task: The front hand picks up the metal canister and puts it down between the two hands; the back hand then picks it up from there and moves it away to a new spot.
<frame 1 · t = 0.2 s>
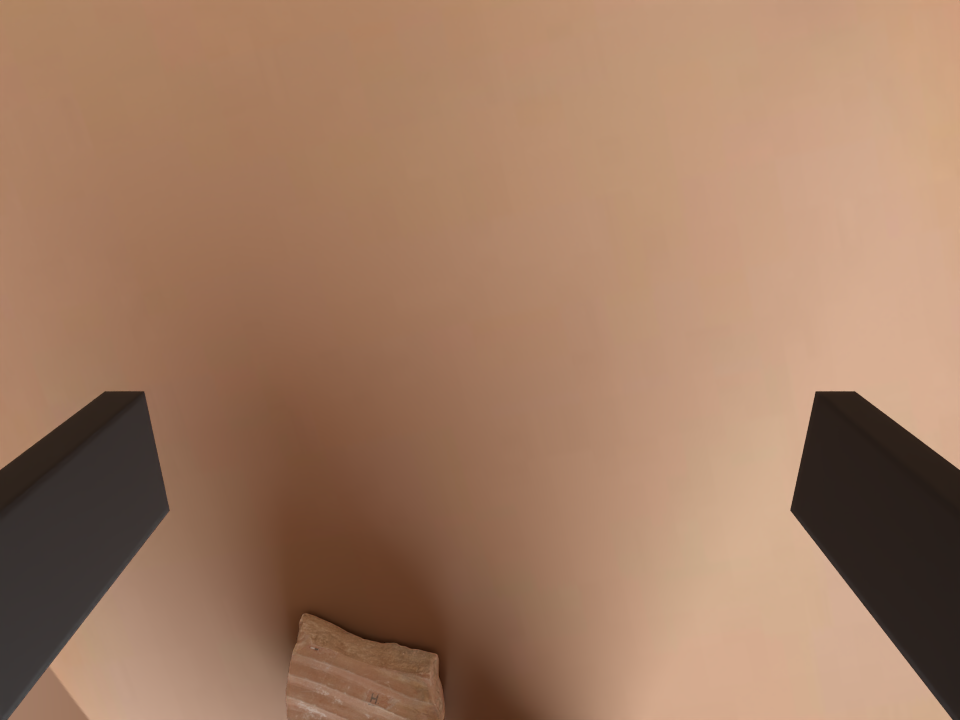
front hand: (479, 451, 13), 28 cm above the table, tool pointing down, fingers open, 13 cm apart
beige ridged slab: (364, 667, 52), on the table
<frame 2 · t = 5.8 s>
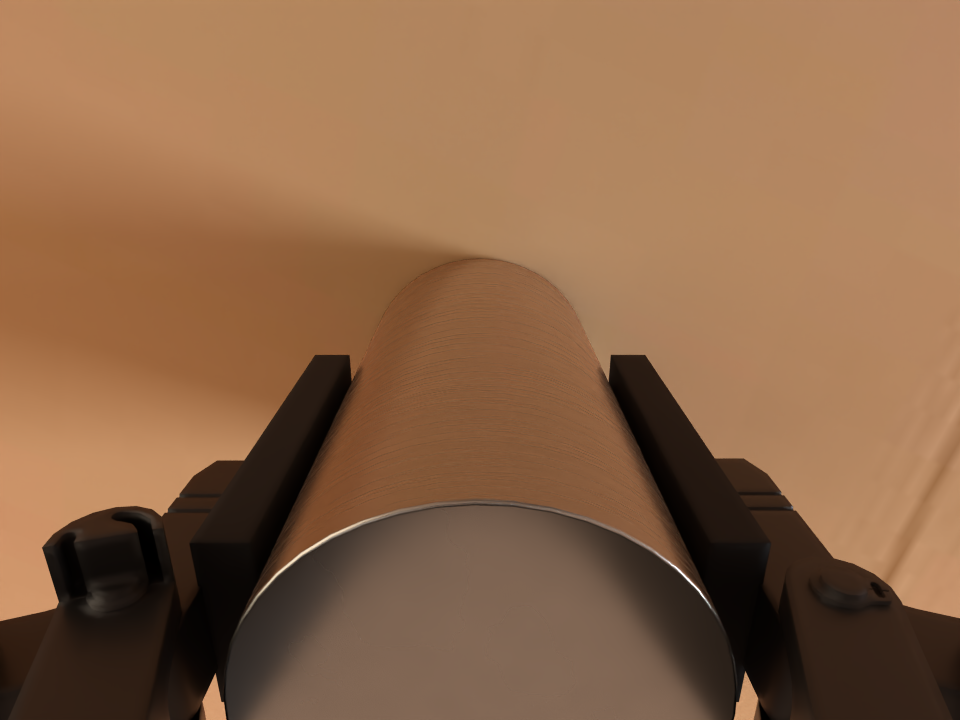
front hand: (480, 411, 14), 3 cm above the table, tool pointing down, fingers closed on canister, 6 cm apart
canister: (480, 364, 17), on the table, touching front hand
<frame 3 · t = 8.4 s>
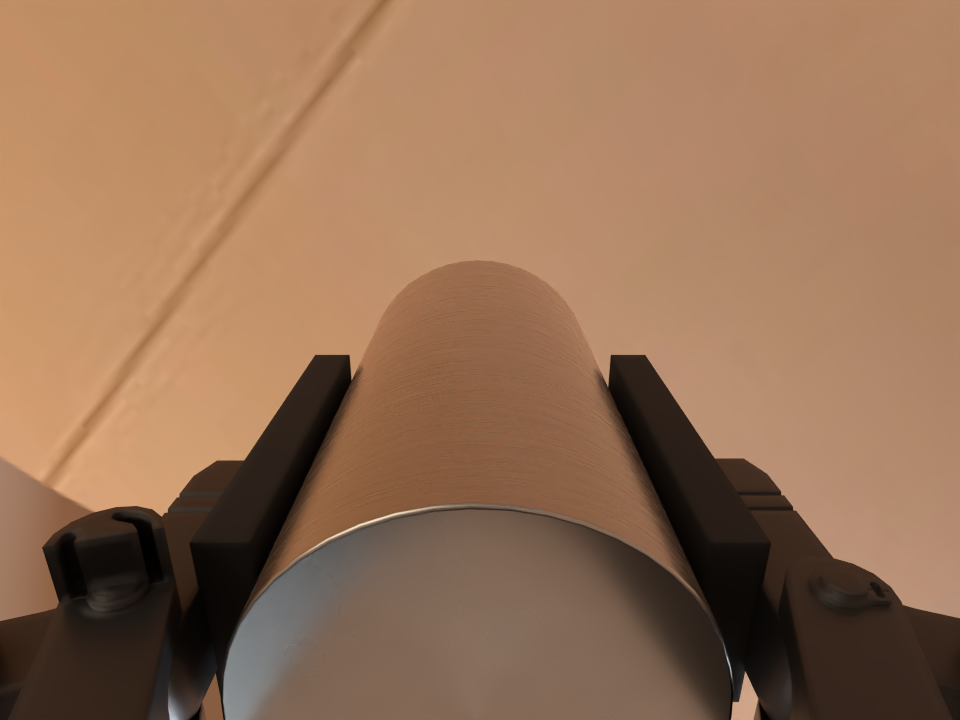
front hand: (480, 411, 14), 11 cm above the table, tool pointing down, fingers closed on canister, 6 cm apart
canister: (478, 365, 17), point 9 cm above the table, touching front hand
when the front hand's fingers open (4 cm above the table, at t = 11.1 s): canister drops 2 cm, on the table.
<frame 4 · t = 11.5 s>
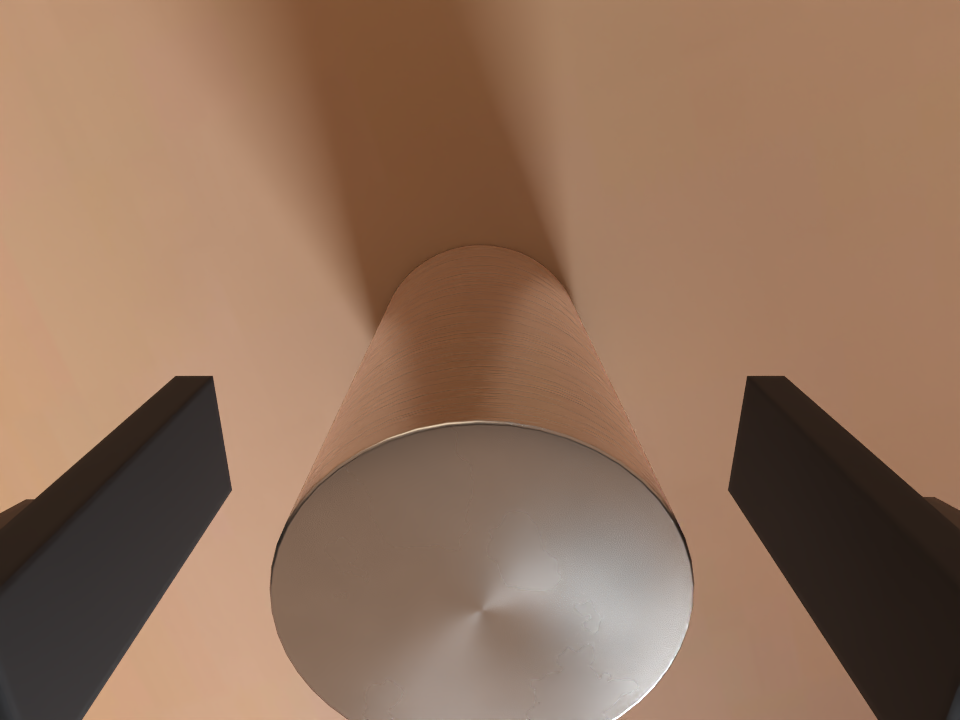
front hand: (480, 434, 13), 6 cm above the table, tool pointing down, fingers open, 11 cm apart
canister: (480, 342, 19), on the table
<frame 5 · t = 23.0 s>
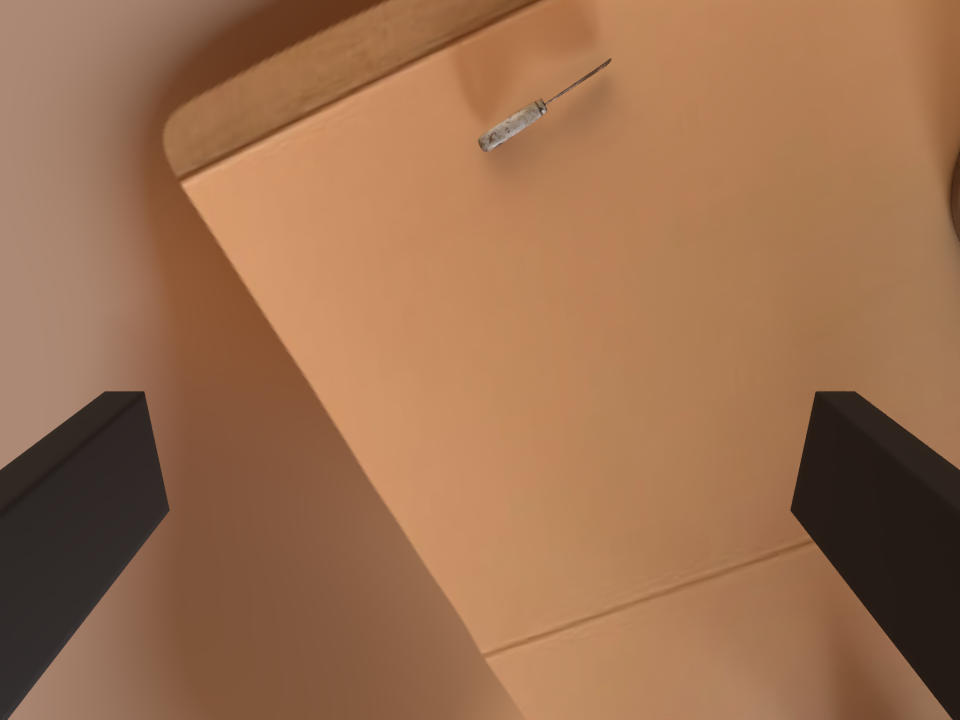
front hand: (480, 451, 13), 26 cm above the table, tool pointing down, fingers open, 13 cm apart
putty knife: (541, 103, 34), on the table
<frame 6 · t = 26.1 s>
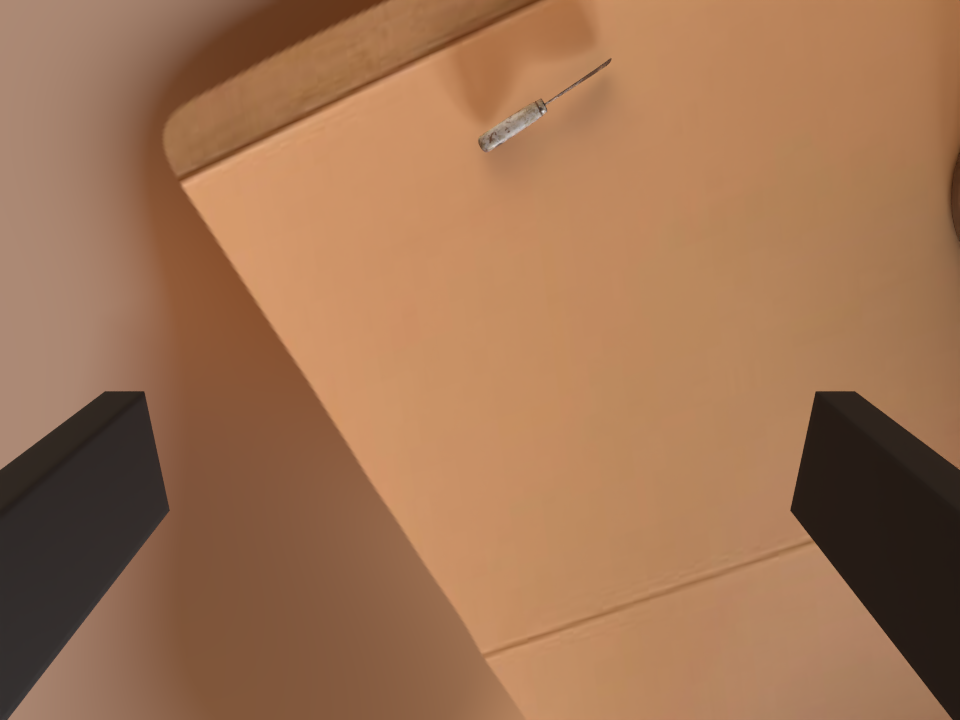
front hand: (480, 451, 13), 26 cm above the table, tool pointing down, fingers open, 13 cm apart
putty knife: (541, 103, 34), on the table
when the back hand's fingers open (4 cm above the table, at t = 29.6 s): canister drops 2 cm, on the table.
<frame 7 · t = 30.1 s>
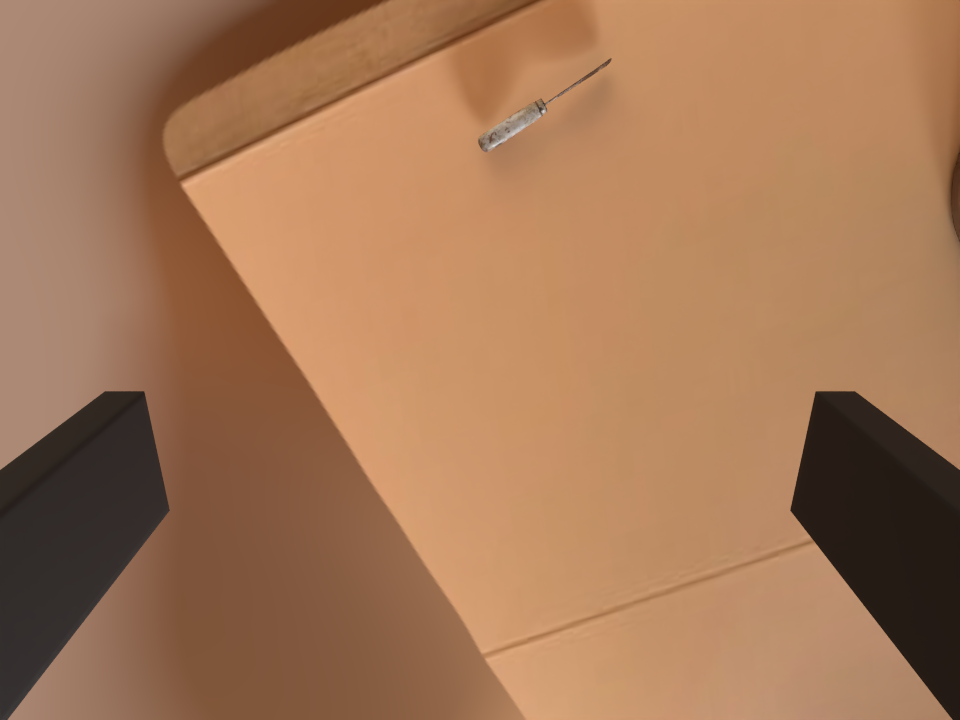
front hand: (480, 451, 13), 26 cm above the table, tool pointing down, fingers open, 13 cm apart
putty knife: (541, 103, 34), on the table
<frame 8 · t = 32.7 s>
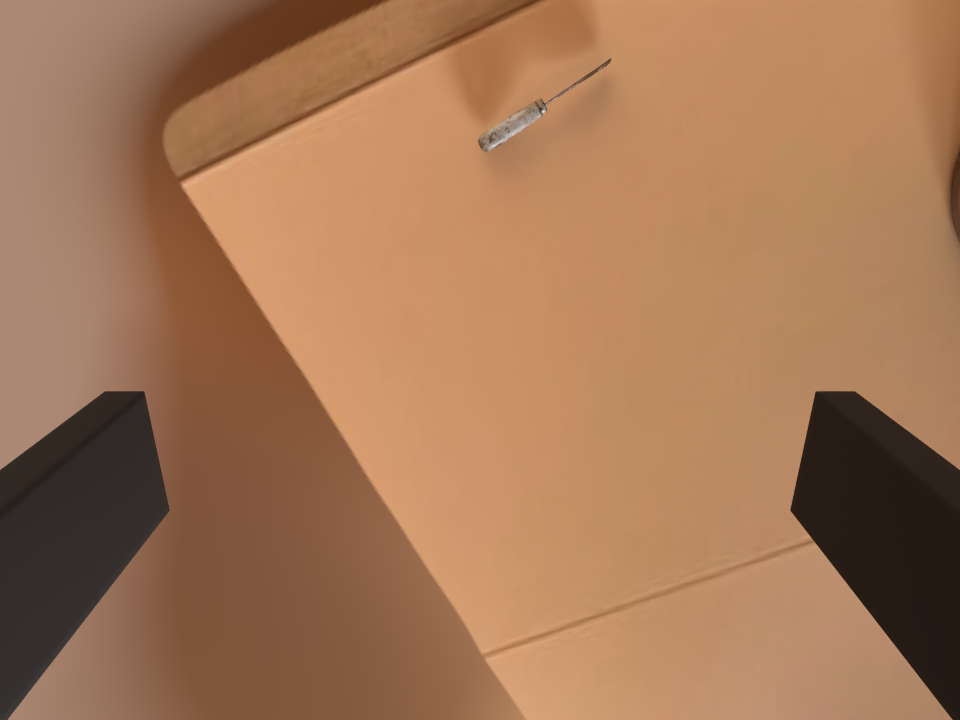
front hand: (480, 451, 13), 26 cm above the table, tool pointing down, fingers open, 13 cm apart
putty knife: (541, 103, 34), on the table
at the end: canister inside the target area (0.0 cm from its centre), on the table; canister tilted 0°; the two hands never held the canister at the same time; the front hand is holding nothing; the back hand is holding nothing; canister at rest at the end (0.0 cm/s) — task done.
